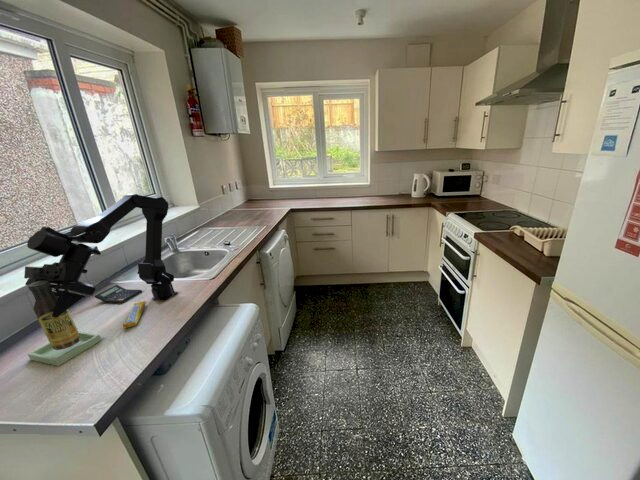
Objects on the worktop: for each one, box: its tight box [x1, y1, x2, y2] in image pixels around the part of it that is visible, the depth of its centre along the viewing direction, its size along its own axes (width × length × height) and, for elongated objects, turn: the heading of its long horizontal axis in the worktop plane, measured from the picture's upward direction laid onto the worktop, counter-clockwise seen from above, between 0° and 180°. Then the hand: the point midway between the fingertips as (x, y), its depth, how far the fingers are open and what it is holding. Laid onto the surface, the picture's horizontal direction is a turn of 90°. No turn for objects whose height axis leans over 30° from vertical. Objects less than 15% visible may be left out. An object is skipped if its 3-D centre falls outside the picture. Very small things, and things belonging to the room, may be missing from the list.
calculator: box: [94, 284, 143, 304], centre depth 115 cm, size 9×12×3 cm
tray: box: [27, 330, 102, 367], centre depth 85 cm, size 12×12×2 cm
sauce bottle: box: [27, 280, 80, 350], centre depth 80 cm, size 6×6×20 cm
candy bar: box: [122, 300, 147, 329], centre depth 101 cm, size 17×4×2 cm, turn 24°
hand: (46, 316), depth 78 cm, fingers closed on sauce bottle, 6 cm apart
